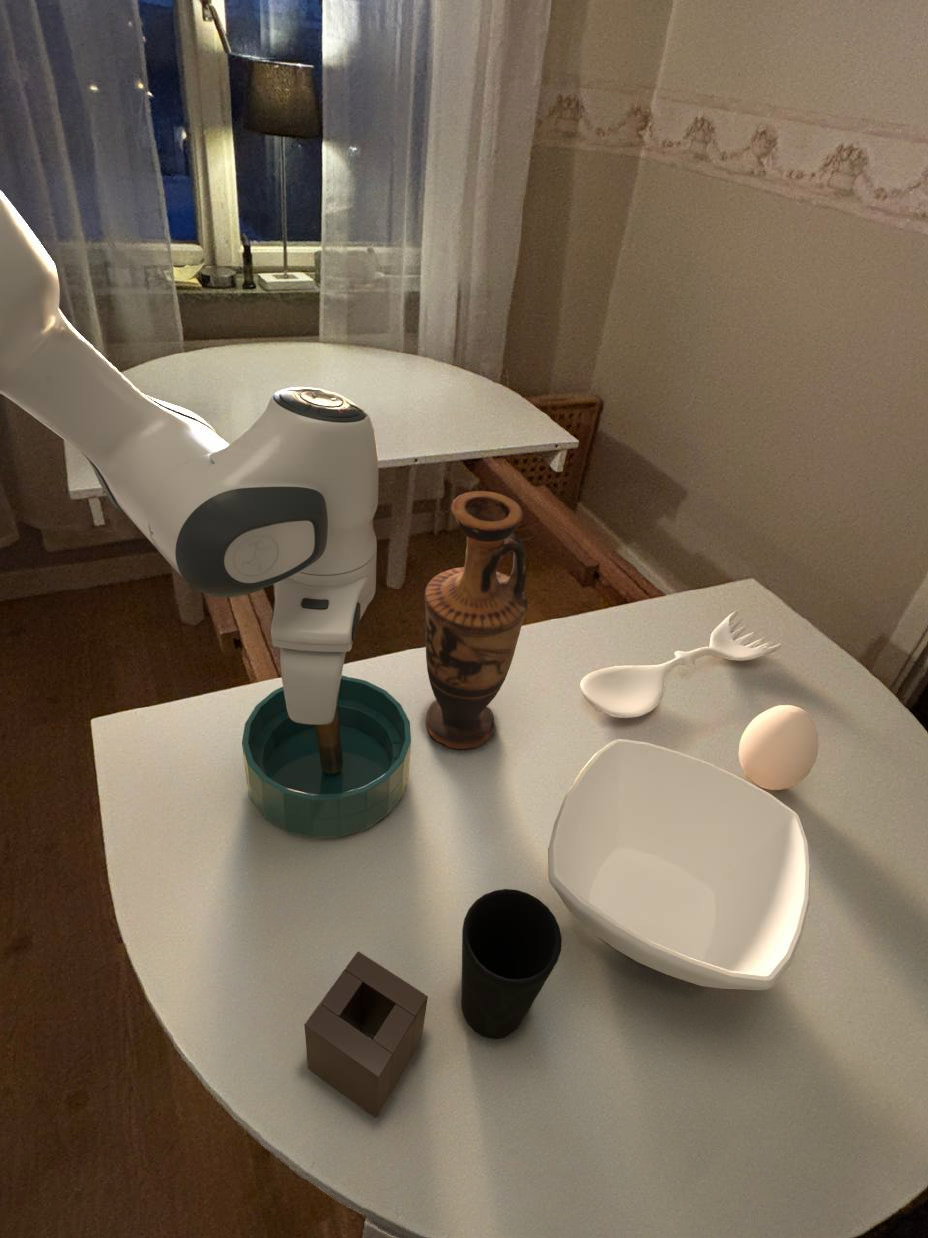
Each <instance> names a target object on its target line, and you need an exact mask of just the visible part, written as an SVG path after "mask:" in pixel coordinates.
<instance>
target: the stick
mask: <svg viewBox="0 0 928 1238" xmlns="http://www.w3.org/2000/svg"><path fill="white" fill-rule="evenodd" d="M316 733H317V740H318V748H319V755H320V763H321V768H322V769H323V771H324V772H326V773H327V774H336V773H338V772H339V771H340V770H341V768H342V766H343V757H342V747H341V738H340V728H339V718H338V709H337V706H336V712H335V716H334V720H333V721H332V723H330V724H327V725H316Z"/></svg>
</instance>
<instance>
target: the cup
mask: <svg viewBox="0 0 928 1238" xmlns="http://www.w3.org/2000/svg"><path fill="white" fill-rule="evenodd" d="M562 943H563V939H562V933H561V927H560V925H559V923H558V921H557V919H556V916H555V915H554V913H553V912H552V911H551V909H550V908H549V907H548V906H547V905H546V904H545V903H543V902H542V901H541V900H540V899H539V898H537V897H536V896H533V895H532V894H530V893H528V892H526V891H521V890H519V889H511V888H504V889H502V888H501V889H496V890H492V891H490V892H487V893H485V894H483V895H482V896H480V897H479V898H477V899H476V900H475V901H474V902H473V903H472V904H471V906H470V907H469V908H468V910H467V912H466V914H465V916H464V918H463V925H462V930H461V983H460V984H461V986H460V987H461V991H460V993H461V994H460V995H461V996H460V1005H461V1006H460V1007H461V1013H462V1015H463V1018H464V1020H465V1022H466V1023H467V1026H469V1027H470V1029H472V1030H473V1031H474V1033H477V1035H480V1037H484V1038H487V1039H493V1040H498V1039H505V1038H507V1037H509V1036H511V1035H512V1034H514V1033H515V1032H516V1031H517V1030H518V1029H519V1027H520V1026H521V1024H522V1023H523V1021H524V1020H525V1018H526V1017H527V1015H528V1013H529V1011H530V1009H531V1007H532V1006H533V1004H534V1003H535V1001H536V999H537V997H539V994H540V992H541V991H542V989H543V987H544V985H545V984H546V982H547V980H549V979H548V978H549V977H550V975H551V974H552V973H553V970H554V968H555V967H556V965H557V963H558V962H559V958H560V955H561V952H562V945H563V944H562Z"/></svg>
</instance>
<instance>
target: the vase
mask: <svg viewBox="0 0 928 1238" xmlns="http://www.w3.org/2000/svg"><path fill="white" fill-rule="evenodd" d="M450 510H451V515H452V517H453V519H454V520H453V521H454V522H455V523H456V526H457V528H458V530H459V531H460V532H461V534H462V535H464V536H465V537H466V549H465V559H464V565H463V566H462V567H453V568H451V569H447V570H444V571H442V572H440V573H438V574H436V575H435V576H434V577H432V578H431V580H430V581H428V583H427V585H426V587H425V590H424V604H425V662H426V671H427V675H428V681H429V684H430V687H431V690H432V694H433V695H434V697H435V700H434V701H433V702H432V703H431V704H430V705H429V707H428V709H427V711H426V713H425V717H424V718H425V719H424V722H425V727H426V730H427V732H428V733H429V735H430V736H431V737H432V738H433V740H435V741H437V742H438V743H441V744H443V745H444V746H445V747H448V748H449V749H451V748H452V749H456V750H470V749H475V748H478V747H480V746H482V745H483V744H485V743H486V742H487V741H488V740H489V739H490V738H491V737H492V736H493V734H494V730H495V725H496V724H495V716H494V713H493V711H492V709H491V708H490V707H488V706H489V704H491V702H492V701H493V700H494V699H495V698H496V696H497V694H498V693H499V692H500V690H501V688H502V686H503V684H504V682H505V680H506V678H507V676H508V673H509V671H510V668H511V665H512V663H513V659H514V656H515V653H516V648H517V644H518V641H519V637H520V633H521V630H522V625H523V622H524V619H525V617H526V612H527V610H528V607H529V606H528V604H529V603H528V600H529V599H528V596H527V594H526V590H525V588H526V579H527V557H526V552H525V548H524V544H523V542H522V539H521V537H519V535H517V533H514V531H515V530H516V529H517V528H518V526H519V525H520V524H521V521H522V520H523V518H524V512H523V508H522V507H521V505H520V504H519V503H517V502H516V501H515V500H513V498H511V497H509V496H506V495H504V494H502V493H499V492H494V491H485V490H475V491H468V492H465V493H463V494H459V495H458V496H457V497H456V498H455V499H453V500H452V504H451V507H450ZM509 552H513V557H512V559H513V560H512V569H511V573H510V575H509V576H508V575H507V574H505V573H502V572H500V571H498V569H499V566H500V564H501V562H502V559H503V558H504V557H505V556H506V555H507V554H508V553H509Z"/></svg>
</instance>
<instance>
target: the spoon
mask: <svg viewBox="0 0 928 1238" xmlns="http://www.w3.org/2000/svg"><path fill="white" fill-rule="evenodd" d="M738 614H739V611H738V610H736V611H733V612H732V613H730V614H729V615H728V616H726V617H725V618H724V619H723V620H722V621H721V622H720V624H718V625H717V626H716V627H715V628H714V629H713V631H711V634H710V640H709V646H702V647H698V648H695V649H693V650H689V651H682V650H676V651H675V652H674V657H675V658H673V659H671V660H669V661H666V662H664V663H661V664H653V665H614V666H609V667H605V668H604V667H603V668H600V669H597V670H593V671H591V672H589V673H587V674H586V675H584V677H583V678H582V679H581V681H580V684H579V685H580V686H579V687H580V692H581V695H582V696H583V698H584V699H585V701H586V702H587V703H588V704H589V706H591V707H592V708H593V709H594V710H596V711H598V712H600V713H602V714H604V715H607V716H610V717H614V718H621V719H629V718H630V719H632V718H637V717H641V716H644V715H646V714H648V713H650V712H651V711H653V710H654V709H655V708H656V707H657V706H658V705H659V704H660V702H661V700H662V698H663V696H664V692H665V687H666V683H667V679H668V675H669V674H670V673H671V671H672V670H673V669H674V668H676V667H678V666H679V667H680V666H685V667H688V668H690V667H694V665H695V661H696V660H697V659H699V658H701V657H704V656H707V657H708V656H711V657H716V658H720V659H724V660H728V661H738V662H744V661H751V660H754V659H758V658H761V657H763V656H767V655H770V654H774V653H775V652H777V651H778V650H780V649H781V648H782V646H783V644H782V643H778V644H776V645H773V646H771V644H773V640H770V641H768V642H765V643H764V644H763V642H764V641H765V639H766V637H761V638H759V639H757V640H755V641H753V642H751V643H749V642H750V641H751V640H752V639H753V638H754V637H755V636H756V634H757V632H756V631H752V632H749V633H746V634H744V635H743V636H739V635H740V634H742V633H743V632H744V631H745V630H746V629H747V628H748V626H749V624H744V625H743V626H741V627H739V628H737V627H738V626H739V625H740V624H741V623H742V622H743V620H744V619H743V618H739V619H737V620H735V621H734V622H732V621H733V620H734V619H735V618H736V617H737V616H738ZM735 628H736V629H735ZM737 637H738V638H737ZM748 643H749V644H748ZM761 643H762V644H761ZM760 644H761V645H760Z"/></svg>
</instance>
